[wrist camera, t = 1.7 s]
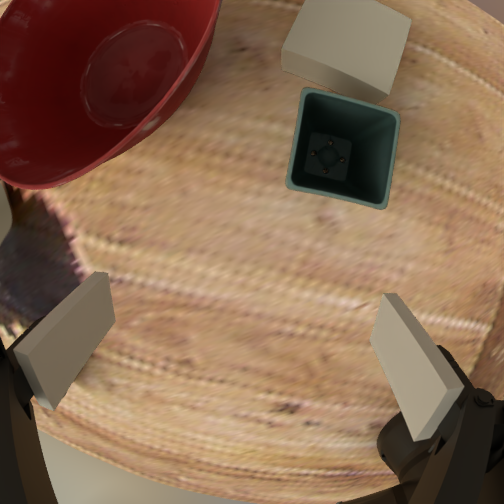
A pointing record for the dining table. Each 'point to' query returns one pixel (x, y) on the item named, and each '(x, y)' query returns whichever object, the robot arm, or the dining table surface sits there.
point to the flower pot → (343, 148)
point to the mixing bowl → (92, 80)
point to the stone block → (347, 46)
